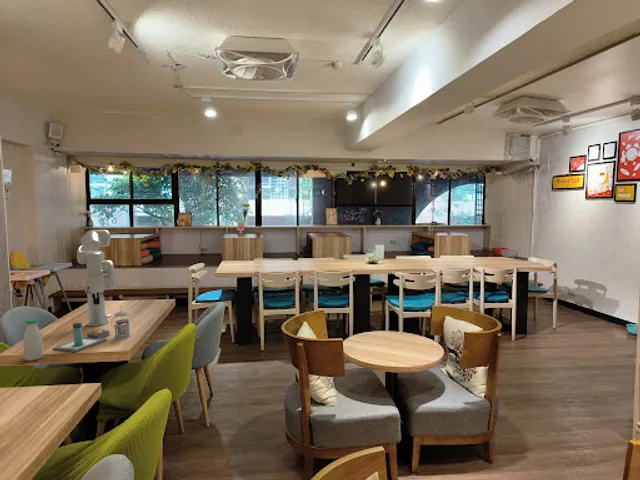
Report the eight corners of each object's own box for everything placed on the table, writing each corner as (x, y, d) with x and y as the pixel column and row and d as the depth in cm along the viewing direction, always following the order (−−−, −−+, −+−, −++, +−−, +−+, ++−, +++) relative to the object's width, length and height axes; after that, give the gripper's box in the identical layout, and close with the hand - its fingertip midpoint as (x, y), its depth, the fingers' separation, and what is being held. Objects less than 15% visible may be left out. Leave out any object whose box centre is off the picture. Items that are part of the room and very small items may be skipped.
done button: (98, 335, 241) (98, 330, 241) (103, 335, 240) (103, 330, 240) (93, 337, 237) (92, 332, 237) (98, 337, 236) (98, 332, 236)
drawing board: (84, 338, 237) (84, 336, 237) (106, 340, 232) (106, 338, 232) (53, 349, 218) (53, 347, 218) (76, 352, 213) (75, 350, 213)
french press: (124, 340, 233) (122, 297, 231) (106, 338, 235) (104, 296, 233) (135, 334, 242) (133, 293, 240) (118, 333, 244) (116, 293, 242)
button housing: (98, 334, 244) (98, 329, 243) (109, 335, 241) (109, 330, 241) (87, 338, 236) (87, 333, 236) (98, 339, 234) (98, 334, 233)
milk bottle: (47, 356, 208) (44, 318, 206) (32, 361, 201) (29, 322, 199) (36, 354, 211) (33, 317, 209) (21, 360, 203) (18, 321, 202)
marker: (79, 343, 224) (77, 322, 223) (84, 344, 223) (83, 322, 222) (72, 346, 220) (70, 324, 219) (78, 346, 219) (76, 325, 218)
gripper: (100, 271, 244) (101, 300, 246) (78, 275, 230) (80, 306, 231) (110, 271, 242) (111, 301, 243) (89, 276, 227) (90, 307, 229)
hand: (96, 304), depth 237 cm, fingers closed
